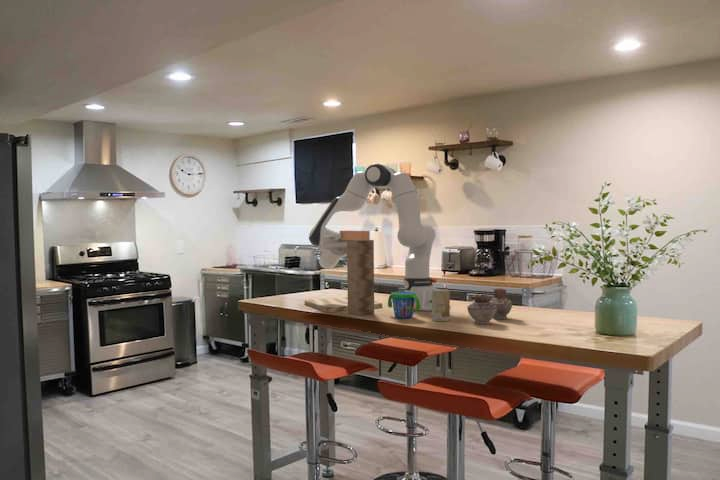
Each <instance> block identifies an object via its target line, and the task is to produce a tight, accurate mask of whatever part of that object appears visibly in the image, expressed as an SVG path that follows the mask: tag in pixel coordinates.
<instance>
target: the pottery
mask: <svg viewBox="0 0 720 480" xmlns="http://www.w3.org/2000/svg"><path fill="white" fill-rule="evenodd" d="M493 292H494V293H493V294H494V297H492V299H491V295H486V294H475V295H473V296H474V297H473V301H474V302H472V303H470V304H469V305H468V306H467V307H466V309H467V312H468V314H469V316H470V317H471V318H472V319H473V321H474V324H477V325H489V324H490V321H491V320H492V319H496V320H507V319H508V317H507V315H509V314H510V312H511V310H512V308H513V304H514V303H513V301H511V300H510V299H508V298H507V297H506V295H507V294H506V293H507V289H506V288H494V289H493Z"/></svg>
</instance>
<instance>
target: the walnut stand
mask: <svg viewBox="0 0 720 480" xmlns="http://www.w3.org/2000/svg"><path fill="white" fill-rule="evenodd" d="M374 243H375V242H374V239H370V240H367V241H358V240H347V256H346V260H347V263H346V264H347V266H346V268H347V270H346V271H347V272H346V273H347V275H346V276H347V281H346V282H347V283H346V284H347V285H346V286H347V297H348V310H347V313H348V314H352V315H355V316H366V315H367V316H368V315H375V308H374V301H375V252H374V251H375V249H374V248H375V247H374V246H375V244H374Z"/></svg>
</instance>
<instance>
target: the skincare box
mask: <svg viewBox="0 0 720 480" xmlns="http://www.w3.org/2000/svg"><path fill="white" fill-rule="evenodd" d="M450 301H451V291H450V290H447V289H438V290H432V310H431V320H432V321H434V322H445V321H446V322H450V312H451V311H450V310H451V305H450V304H451V303H450Z"/></svg>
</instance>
